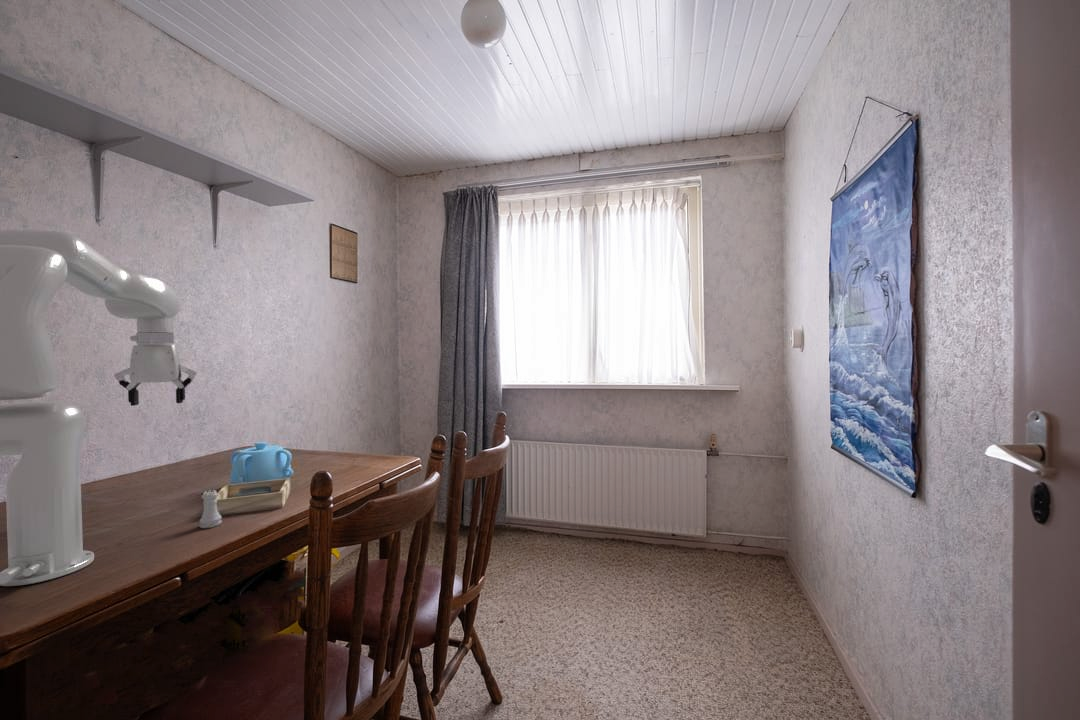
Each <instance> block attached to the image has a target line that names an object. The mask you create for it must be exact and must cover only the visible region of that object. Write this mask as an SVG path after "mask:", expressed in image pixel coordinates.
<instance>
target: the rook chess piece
mask: <svg viewBox="0 0 1080 720" xmlns="http://www.w3.org/2000/svg"><path fill="white" fill-rule="evenodd" d="M217 496H218V492H217V489H216V490H215V489H212V490H211V489H210V490H208V491H204V492H203V493H202V495H201V499H202V500H203V502H202V504H203V511H202V515H201V517H200V519H199V521H198V522H199V525H198V526H199V527H200V528H201V529H212V528H215V527H218V526H220V525H221V524H222V523H223V520H222V518H223V516H221V515H219V513H218V510H217V503H216V502H217V500H216V497H217Z"/></svg>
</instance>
